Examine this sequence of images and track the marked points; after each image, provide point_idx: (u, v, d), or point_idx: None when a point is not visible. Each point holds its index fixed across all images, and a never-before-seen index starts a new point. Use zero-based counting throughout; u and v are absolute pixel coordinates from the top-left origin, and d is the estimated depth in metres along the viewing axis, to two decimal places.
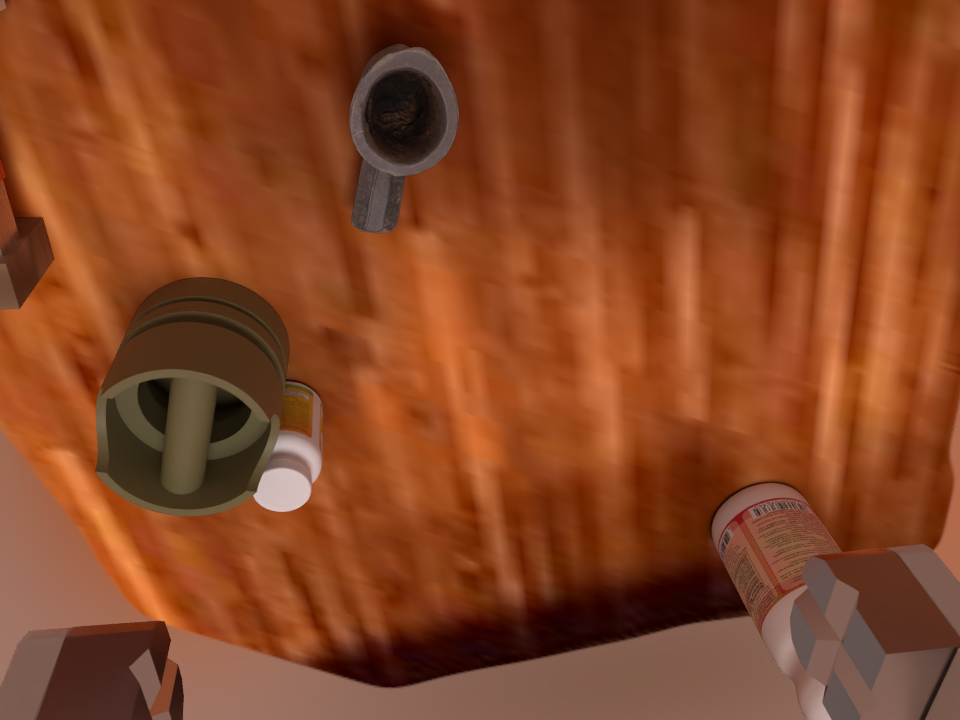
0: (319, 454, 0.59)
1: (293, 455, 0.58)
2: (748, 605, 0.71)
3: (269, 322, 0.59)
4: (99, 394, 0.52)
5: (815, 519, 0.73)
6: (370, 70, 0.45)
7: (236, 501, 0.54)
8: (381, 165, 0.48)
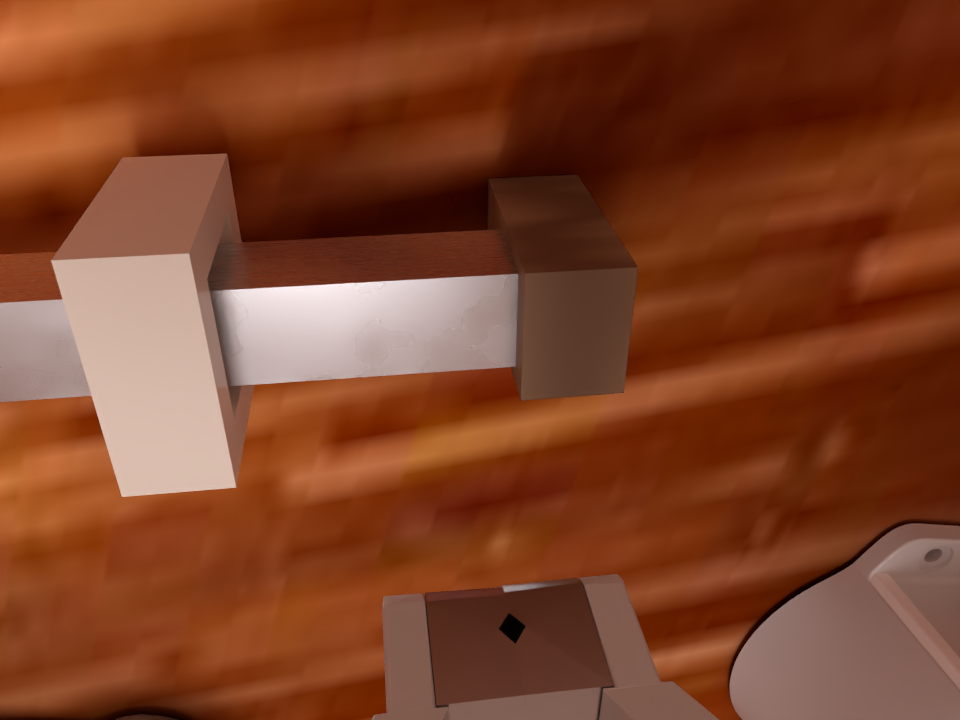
0: None
1: None
2: None
3: None
4: None
5: None
6: None
7: None
8: None
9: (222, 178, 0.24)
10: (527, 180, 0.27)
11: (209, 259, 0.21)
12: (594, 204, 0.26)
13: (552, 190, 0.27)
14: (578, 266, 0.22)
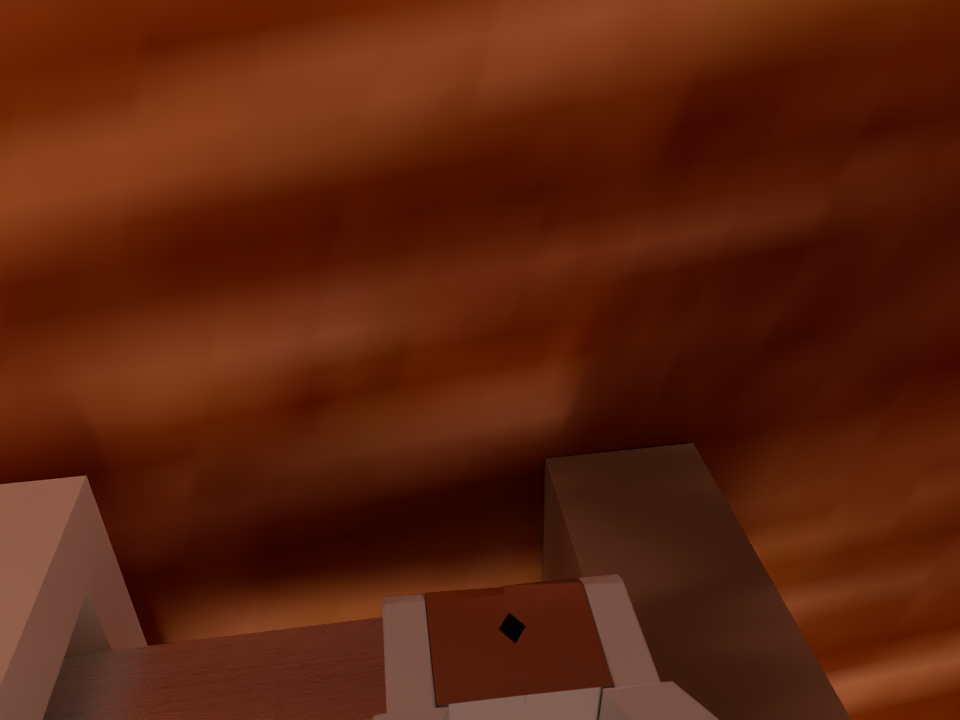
0: None
1: None
2: None
3: None
4: None
5: None
6: None
7: None
8: None
9: (66, 548, 0.13)
10: (612, 463, 0.16)
11: None
12: (741, 535, 0.14)
13: (658, 491, 0.15)
14: None
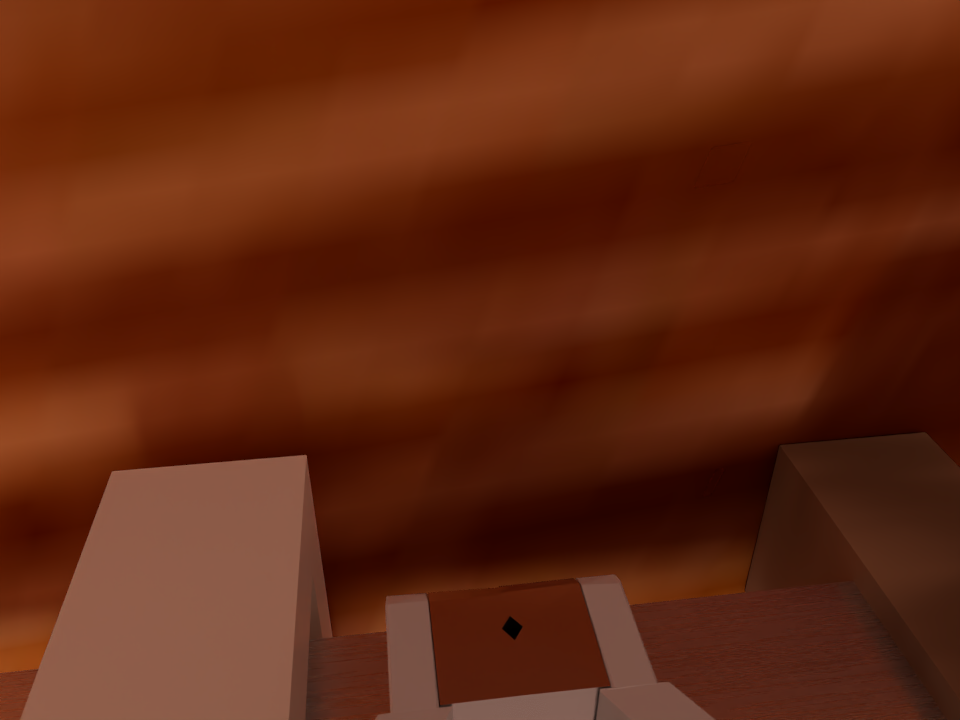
0: None
1: None
2: None
3: None
4: None
5: None
6: None
7: None
8: None
9: (304, 529, 0.12)
10: (850, 451, 0.16)
11: None
12: None
13: (908, 480, 0.15)
14: None
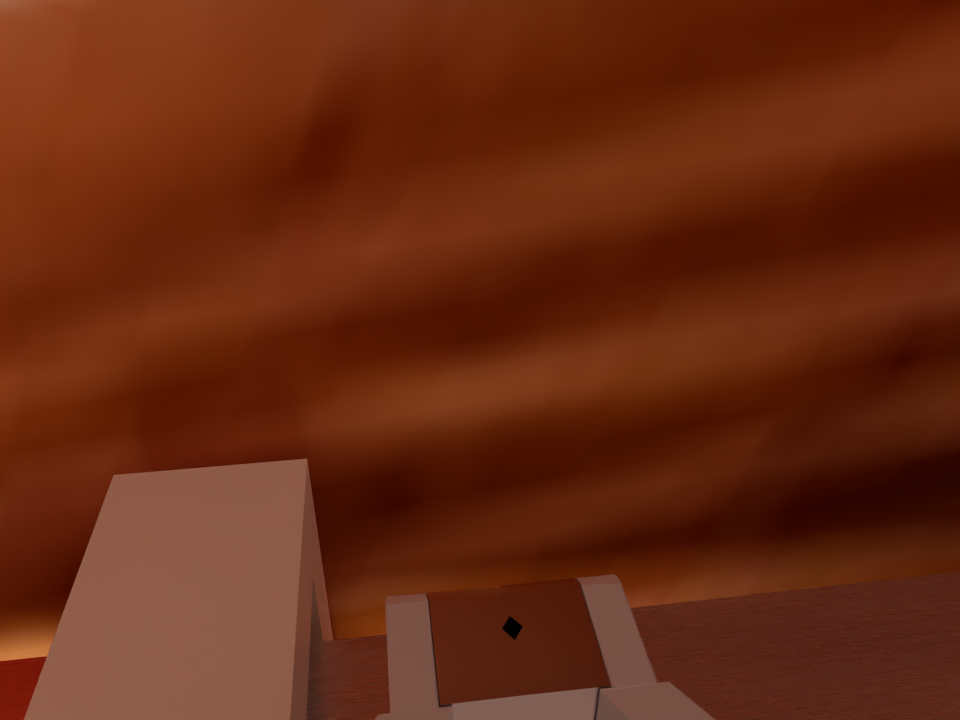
0: None
1: None
2: None
3: None
4: None
5: None
6: None
7: None
8: None
9: (305, 533, 0.12)
10: None
11: None
12: None
13: None
14: None
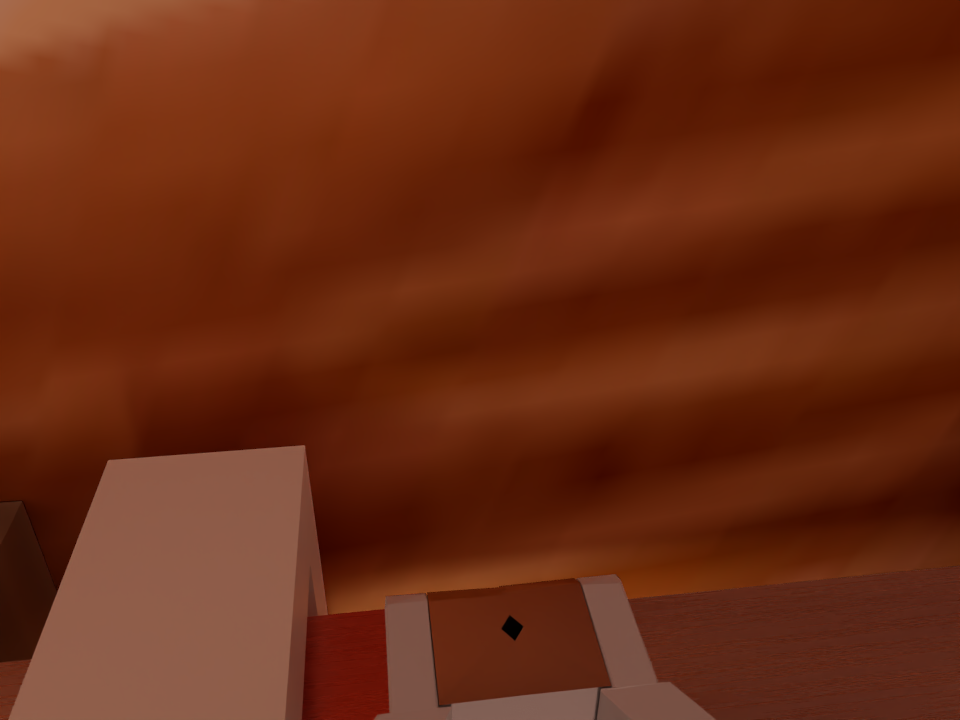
0: None
1: None
2: None
3: None
4: None
5: None
6: None
7: None
8: None
9: (302, 519, 0.12)
10: None
11: None
12: None
13: None
14: None
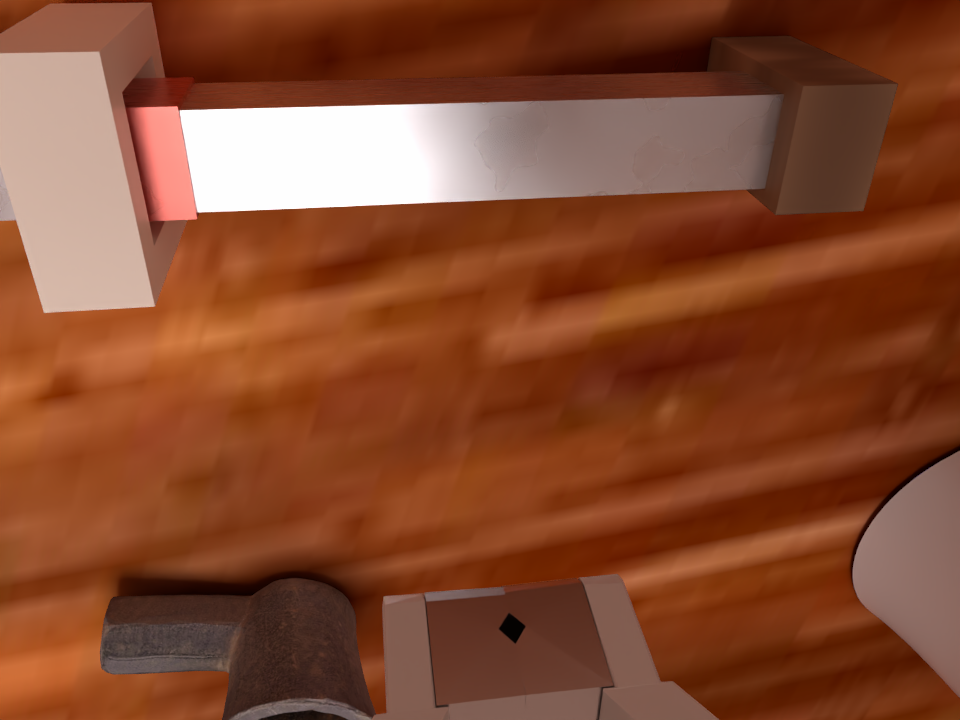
0: None
1: None
2: None
3: None
4: None
5: None
6: (357, 712, 0.35)
7: None
8: None
9: (144, 19, 0.25)
10: (749, 38, 0.30)
11: (125, 78, 0.22)
12: (823, 51, 0.28)
13: (776, 43, 0.29)
14: (845, 82, 0.25)
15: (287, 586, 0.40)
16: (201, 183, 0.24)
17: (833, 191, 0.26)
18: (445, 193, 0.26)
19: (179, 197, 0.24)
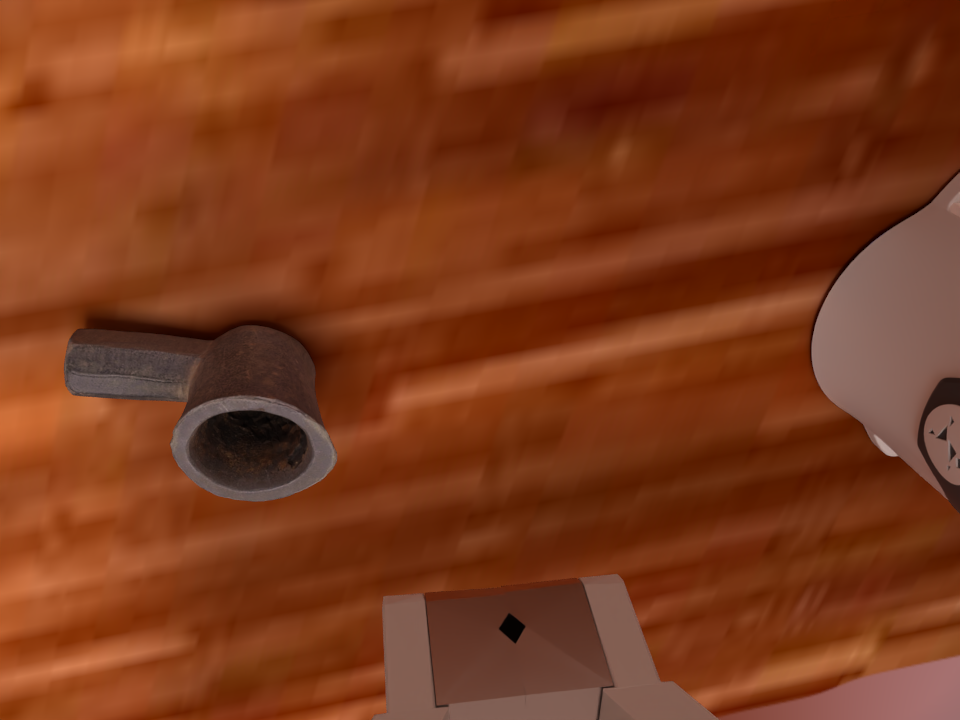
0: None
1: None
2: None
3: None
4: None
5: None
6: (306, 416, 0.37)
7: None
8: (183, 431, 0.36)
9: None
10: None
11: None
12: None
13: None
14: None
15: (247, 328, 0.42)
16: None
17: None
18: None
19: None
